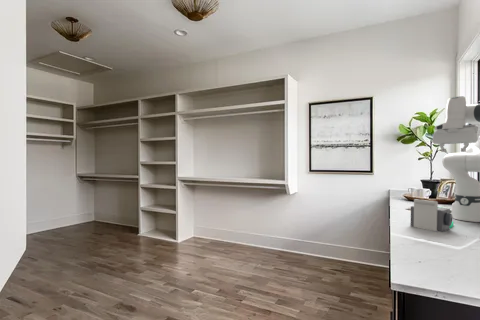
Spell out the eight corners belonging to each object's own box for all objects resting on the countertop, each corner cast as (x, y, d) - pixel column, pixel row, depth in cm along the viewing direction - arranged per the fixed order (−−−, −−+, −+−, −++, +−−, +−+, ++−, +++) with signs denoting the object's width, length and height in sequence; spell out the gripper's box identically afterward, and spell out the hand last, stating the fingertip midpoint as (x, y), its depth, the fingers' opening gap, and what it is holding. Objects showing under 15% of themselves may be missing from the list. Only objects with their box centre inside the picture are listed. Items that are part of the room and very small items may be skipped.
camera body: (418, 225, 152) (418, 204, 152) (453, 231, 139) (453, 209, 139) (410, 227, 146) (410, 206, 146) (446, 234, 134) (446, 211, 134)
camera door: (414, 226, 145) (414, 199, 145) (437, 230, 137) (437, 201, 136) (412, 227, 144) (413, 199, 143) (435, 231, 136) (436, 202, 135)
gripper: (481, 125, 145) (479, 152, 145) (438, 128, 164) (436, 152, 163) (474, 123, 143) (472, 150, 142) (431, 127, 161) (430, 151, 160)
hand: (453, 151), depth 153 cm, fingers open, 8 cm apart
